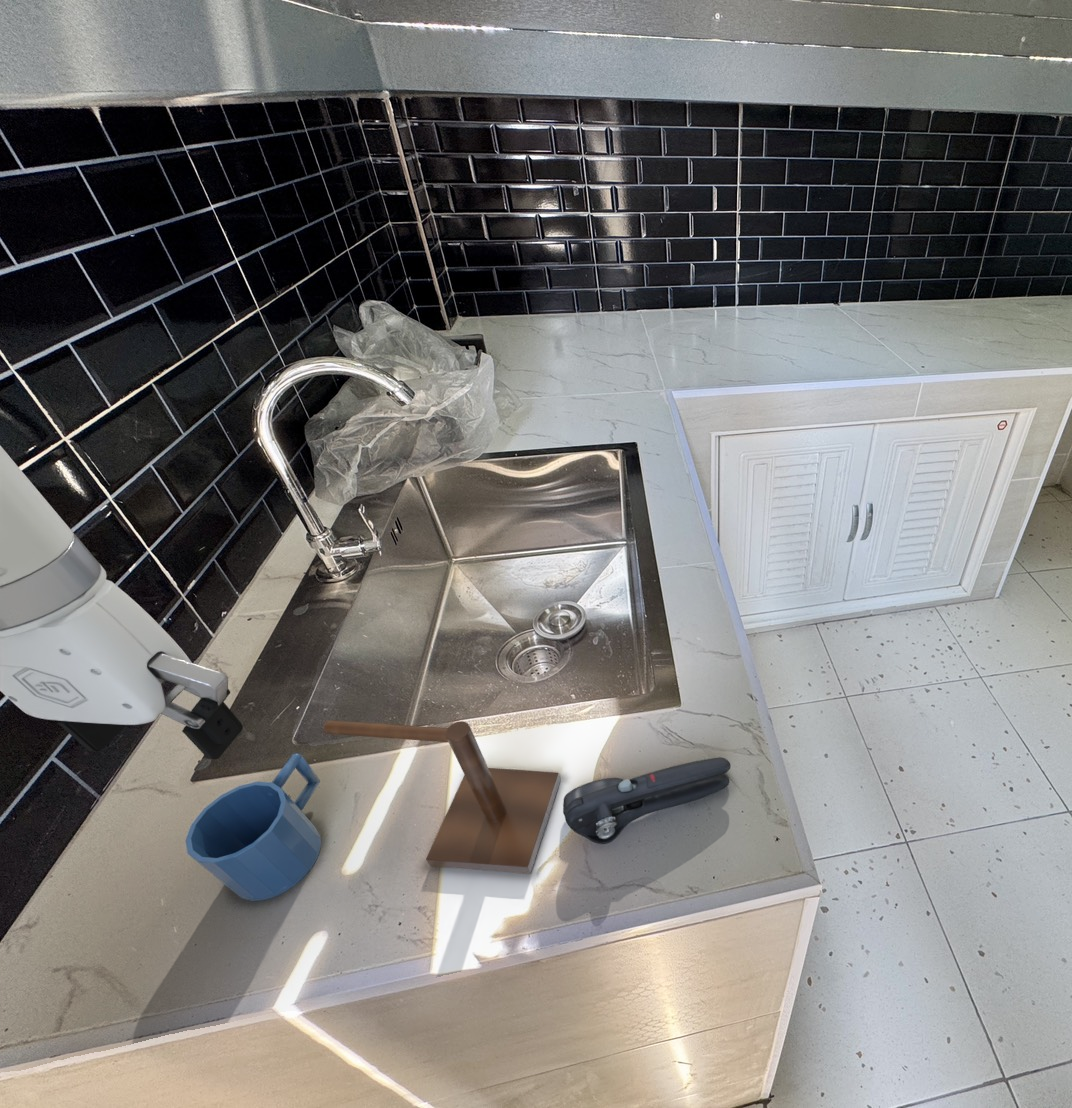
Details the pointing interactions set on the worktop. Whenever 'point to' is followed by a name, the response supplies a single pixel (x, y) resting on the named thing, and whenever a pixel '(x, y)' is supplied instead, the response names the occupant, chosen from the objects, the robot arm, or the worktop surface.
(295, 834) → the mug
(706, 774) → the can opener
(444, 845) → the mug stand
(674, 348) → the worktop surface
